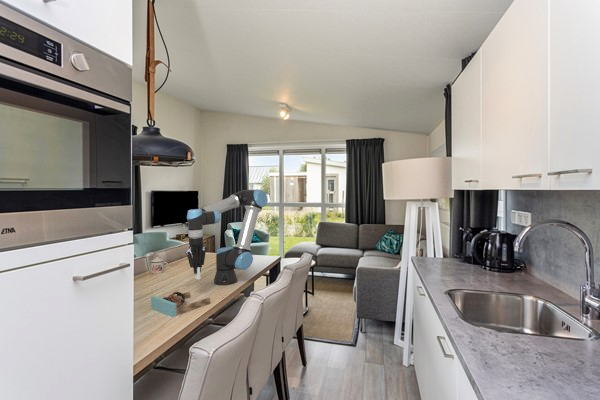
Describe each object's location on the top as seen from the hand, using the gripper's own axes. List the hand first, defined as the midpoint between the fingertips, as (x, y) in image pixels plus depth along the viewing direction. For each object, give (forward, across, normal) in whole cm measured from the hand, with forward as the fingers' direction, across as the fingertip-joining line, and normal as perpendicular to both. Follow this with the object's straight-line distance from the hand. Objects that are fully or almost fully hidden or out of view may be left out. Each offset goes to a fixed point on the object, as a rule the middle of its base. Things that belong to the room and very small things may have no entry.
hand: (197, 278), depth 170 cm
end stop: (+11, -22, -2) cm, 25 cm away
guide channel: (+11, -11, -2) cm, 16 cm away
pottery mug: (+11, -15, +1) cm, 19 cm away
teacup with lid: (+12, +21, +74) cm, 78 cm away
